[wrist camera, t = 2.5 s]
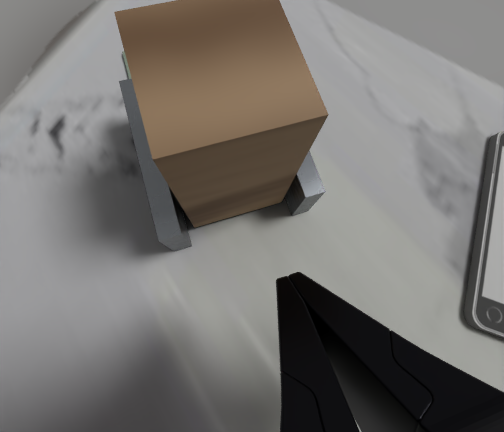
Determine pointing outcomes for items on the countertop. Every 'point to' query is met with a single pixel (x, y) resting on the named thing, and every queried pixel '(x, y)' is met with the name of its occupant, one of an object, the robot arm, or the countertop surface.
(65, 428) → the countertop surface
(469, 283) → the smartphone
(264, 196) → the brown rectangular block
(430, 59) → the countertop surface
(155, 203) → the chute
